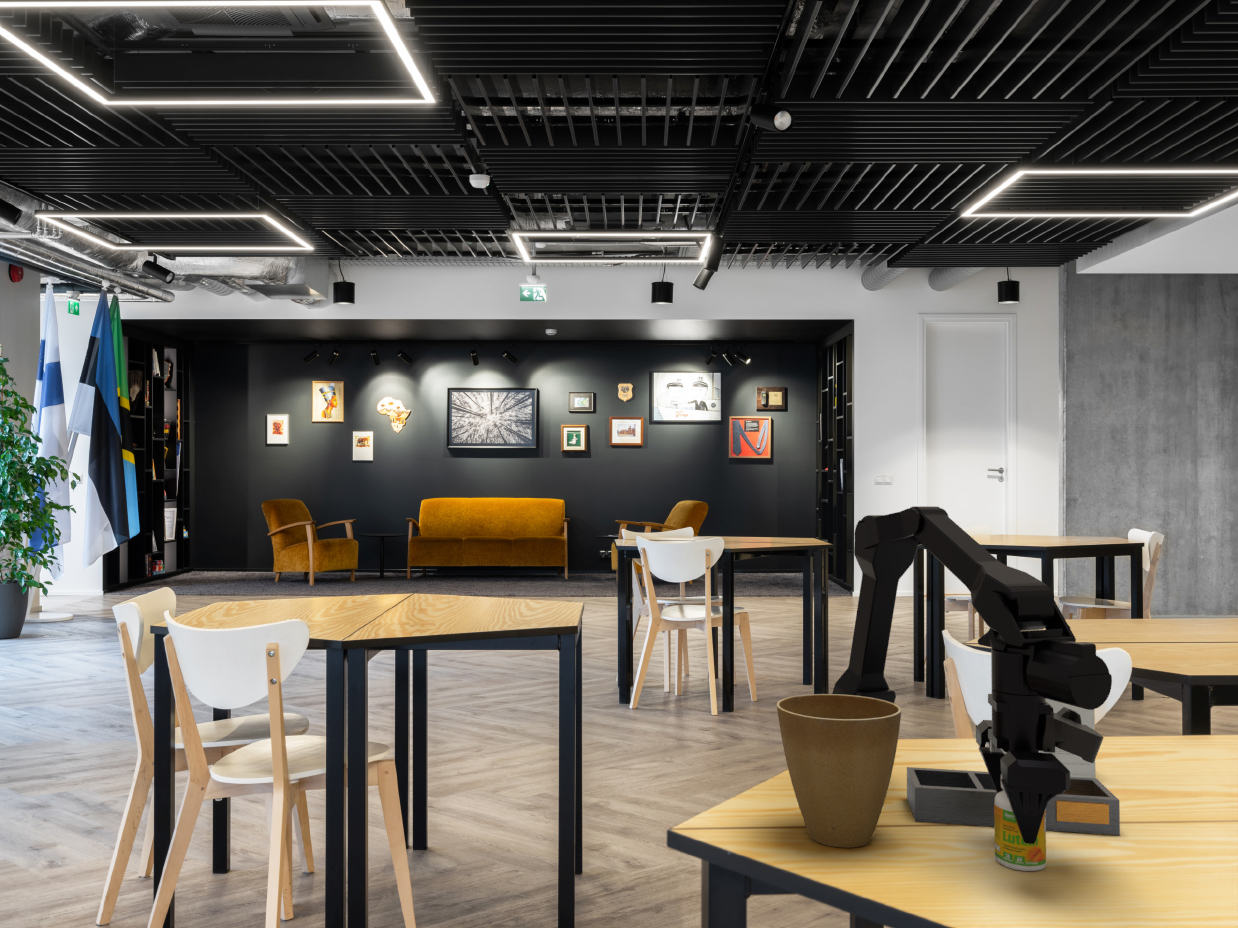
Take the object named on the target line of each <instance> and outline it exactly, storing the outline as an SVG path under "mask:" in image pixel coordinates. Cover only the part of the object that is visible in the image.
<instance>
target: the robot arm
mask: <svg viewBox="0 0 1238 928" xmlns="http://www.w3.org/2000/svg"><path fill="white" fill-rule="evenodd" d="M919 546H924V548H926V549H927V551H928V552H930V554H932V555H933V556H934V557H935V559H937V560H938V561H939V562H940V563H941V564H942V565H943V566H944V567H945V568H946V569H948V570H949V572H950V573H952V575H954V576H955V577H956V578H957V579H958V580H959V581H960V582H961V583H962V584H963V585H964V586H965V587H966V588H967V589H968V591H969V592H970V597H971V605H972V607H973V608H974V609H975V610H976V612H977V613H978V615H979V616H980V617H981V619H982V620H983V621H984V623H985V624H986V625H987V626H988V627H989V629H988V630H987V632H986V633H984V634H982V635H981V637H979V638H978V639H977V644H978V646H982V647H988V648H990V649H991V650H990V651H991V652H990V653H991V655H990V656H991V659H990V661H991V665H990V666H991V669H990V672H991V674H990V675H991V678H990V679H991V693H987V703H988V704H989V705H990V706H991V719H982V721H980V722H979V723H978V724H977V725H976V726H975V742H976V744H977V745H978V750H979V752H980V755H981V757H982V759H983V762H984V764H985V766H986V769H987V772H989V775H990V777H991V779H992V782H993V784H994V787H995V789H996V792H997V793H999V792H1001V791H1003V789H1002V788H1001V781H1002V784H1003V787H1004V790H1005V792H1006V795H1007V798H1008V800H1009V803H1010V806H1011V809H1012V811H1013V814H1014V817H1015V819H1016V822H1017V825H1018V828H1019V830H1020V833H1021V836H1022V838H1023V841H1024V842H1025V843H1027V844H1034V843H1035V842H1036V839H1037V835H1038V832H1039V829H1040V825H1041V822H1042V818H1043V815H1044V812H1045V809H1046V806H1047V803H1048V801H1049V800H1050V799H1052V798H1053V797H1055V796H1056V795H1060V794H1063V793H1064V792H1065V790H1069V789H1070V771H1069V770H1068V769H1067V768H1066V767H1065V766H1064V765H1063V764H1062V763H1061V762H1060V761H1059V760H1058V759H1057V758H1056V757H1055V756H1054V755H1053V754H1052V753H1055V747H1057V748H1059V749H1062V750H1064V751H1067V752H1069V753H1072V754H1074V755H1077V756H1079V757H1082V759H1083V760H1084V761H1087V762H1090V763H1094V761H1095V762H1096V758H1097V756H1098V753H1099V750H1100V748H1101V746H1102V743H1103V740H1104V736H1103V735H1101V734H1100V733H1099V732H1098V731H1096V729H1095V730H1094V729H1092V728H1090V727H1088V726H1087V725H1083V724H1082V723H1081V716H1080V714H1078V713H1077V712H1076V711H1074V710H1071V709H1068V708H1066V707H1063V708H1062V709H1061V710H1060V711H1058V712H1057V713H1054V710H1053V707H1052V706H1051V705H1050V704H1049V703H1047V702H1046V699H1050V700H1054V701H1057V702H1061V703H1065V704H1069V705H1072V706H1076V707H1080V708H1083V709H1088V710H1093V709H1094V710H1096V709H1099V708H1100V707H1101V706H1102V705H1104V703H1106V701H1107V700H1108V698H1109V695H1110V693H1111V689H1112V685H1113V676H1112V674H1110V670H1109V668H1108V665H1107V664H1106V662H1105V660H1103V659H1102V658H1101V657H1100V656H1098V655H1097V645H1096V644H1095V643H1092V642H1085V641H1083V642H1076V641H1077V639H1076V637H1075V635H1074V633H1073V631H1072V629H1071V627H1070V625H1069V624H1068V623H1067V621H1066V620H1067V619H1065V617H1064V615H1063V613H1062V611H1061V610H1060V608H1059V606H1058V604H1057V602H1056V601H1055V594H1054V593H1053V591H1052V589H1051V588H1050V587H1049V585H1047V584H1046V583H1045V582H1043V581H1041V580H1040V579H1038V578H1036V577H1035V576H1032V575H1031V574H1030V573H1028V572H1026V571H1024V570H1023V571H1022V570H1020V569H1017V568H1015V567H1011V566H1009V565H1006V564H1005V563H1002V562H1001V561H1000V560H999V559H997V558H996V557H995V556H994V555H992V554H991V553H990V552H989V551H988V550H987V549H986V548H984V547H983V546H982V545H981V544H980V543H979V542H978V541H976V539H974V538H973V537H972V536H971V535H970V534H968V532H967V531H965V530H964V529H963V528H961V527H960V526H959V525H958V524H957V523H956V522H955V521H954V520H952V519H951V518H950V517H949V513H948V512H947V511H946V510H945V509H944V508H941V507H939V506H911V507H909V508H906V509H903V510H901V511H897V512H893V513H889V514H878V515H877V514H876V515H875V514H872V515H871V514H870V515H865V516H863V517H862V518H861V520H858V521H857V524H856V526H855V531H854V548H853V552H854V557H855V560H856V562H857V564H858V566H859V569H860V570H861V571H860V572H861V581H860V587H859V596H858V601H857V609H856V615H855V621H854V627H853V628H854V630H853V636H852V641H851V648H850V654H849V663H848V666H847V669H846V670H845V671H844V672H843V673H842V674H841V675H840V676H839V679H837V680H836V682H835V683H834V686H833V689H832V694H840V695H854V696H863V697H870V698H875V699H880V700H884V701H888V702H891V703H894V704H895V701H896V698H897V696H896V691H895V690H893V689H890V686H889V683H888V682H887V679H886V678H885V668H886V662H887V656H888V650H889V643H890V637H891V630H892V624H893V619H894V612H895V607H896V606H895V605H896V601H897V600H896V598H897V593H898V586H899V582H900V579H901V578H902V577H903V576H904V574H905V573H906V572H907V571H908V569H909V568H910V567H911V566H912V564H913V562H914V560H915V557H916V554H917V550H918V547H919ZM1039 751H1043V752H1051V753H1039ZM1001 774H1002V778H1003V779H1001Z"/></svg>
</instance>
